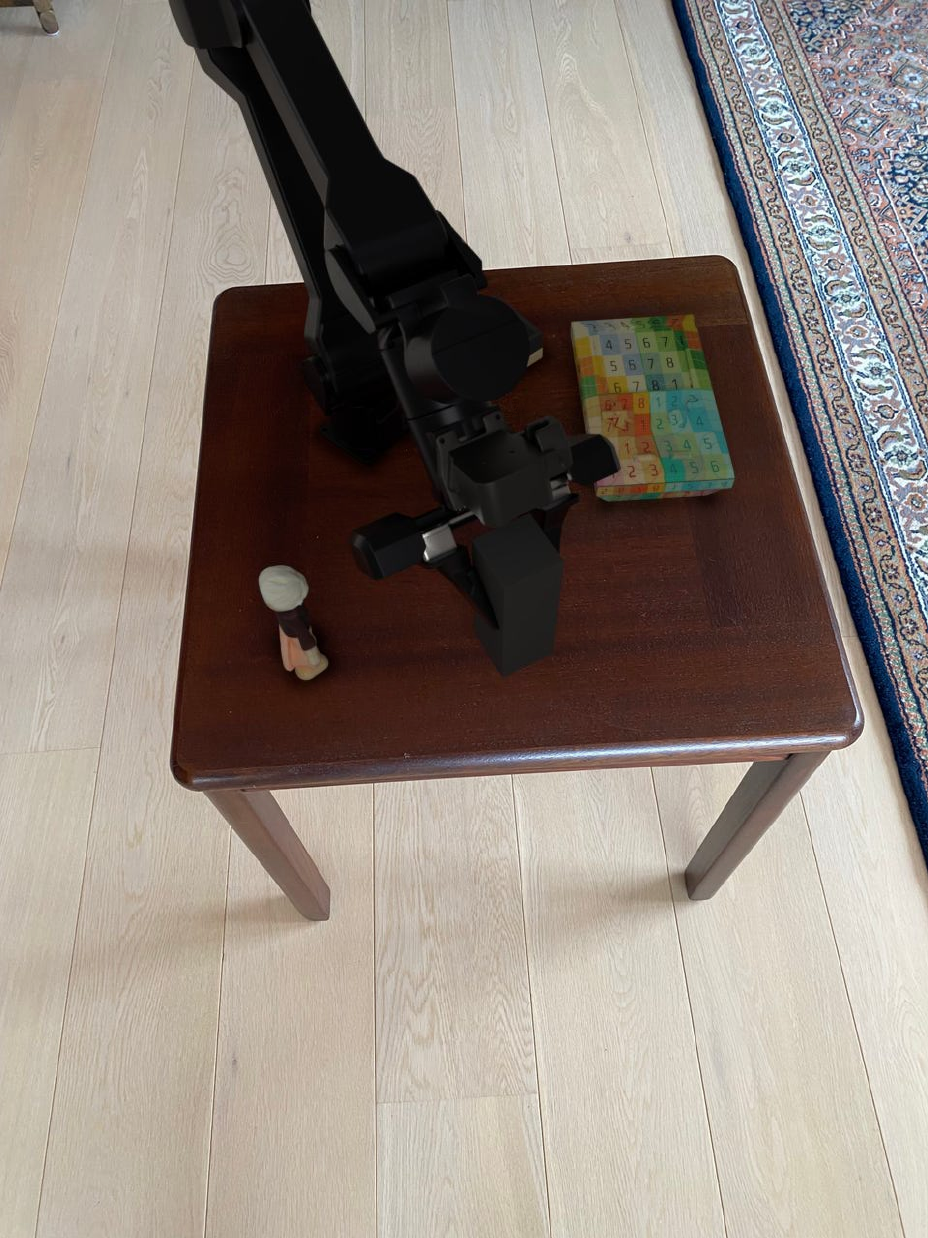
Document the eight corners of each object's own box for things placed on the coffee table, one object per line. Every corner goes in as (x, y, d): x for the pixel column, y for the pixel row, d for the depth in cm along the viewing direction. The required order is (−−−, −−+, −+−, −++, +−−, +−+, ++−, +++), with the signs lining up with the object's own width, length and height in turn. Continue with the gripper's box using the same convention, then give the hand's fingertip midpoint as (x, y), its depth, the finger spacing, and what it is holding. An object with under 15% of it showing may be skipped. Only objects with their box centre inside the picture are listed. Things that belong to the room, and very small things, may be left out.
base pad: (486, 392, 89) (486, 368, 86) (440, 351, 92) (438, 326, 89) (542, 357, 91) (543, 332, 88) (496, 318, 94) (496, 293, 91)
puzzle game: (598, 480, 77) (572, 314, 87) (593, 513, 82) (568, 351, 92) (737, 471, 77) (695, 306, 87) (725, 505, 81) (686, 344, 92)
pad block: (474, 633, 72) (471, 538, 61) (524, 609, 73) (529, 512, 62) (502, 678, 70) (504, 589, 59) (553, 653, 71) (564, 560, 60)
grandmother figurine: (263, 640, 76) (223, 555, 65) (302, 615, 77) (270, 527, 66) (313, 707, 73) (280, 629, 62) (353, 680, 74) (328, 599, 63)
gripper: (340, 462, 51) (440, 703, 56) (623, 342, 55) (695, 577, 60) (309, 457, 62) (396, 661, 66) (549, 357, 66) (615, 556, 70)
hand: (524, 614), depth 66 cm, fingers closed on pad block, 4 cm apart
